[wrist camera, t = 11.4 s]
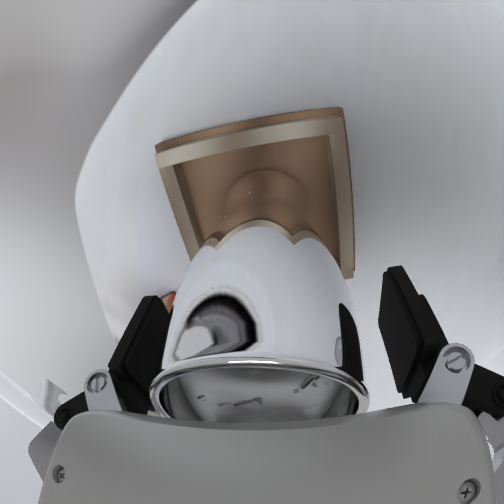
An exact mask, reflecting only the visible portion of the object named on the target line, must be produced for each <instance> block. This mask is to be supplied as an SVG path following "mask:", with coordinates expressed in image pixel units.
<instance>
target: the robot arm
mask: <svg viewBox="0 0 504 504" xmlns="http://www.w3.org/2000/svg"><path fill="white" fill-rule="evenodd" d="M168 316H169V312H168V310H167V309H166V307H165V305H164V303H163V301H162V299H160V298H158V296H155V295H154V296H145V297H143V299H142V300H141V302H140V304H139V306H138V308H137V309H136V311H135V313H134V315H133V317H132V319H131V321H130V323H129V324H128V326H127V328H126V330H125V332H124V334H123V336H122V338H121V340H120V342H119V344H118V346H117V348H116V350H115V352H114V354H113V356H112V358H111V360H110V362H109V364H108V367H109V368H110V369H109V371H106V370H103V369H101V370H96V371H94V372H93V373H91V374H90V375H89V376H88V377H87V379H86V381H85V384H84V392H82V393H80V394H79V395H77V396H75V397H74V398H72V399H70V400H69V401H67V402H66V403H64V404H62V405H61V406H60V407H58V409H57V410H56V412H55V415H54V422H52V421H51V422H50V423H49V424H48V425H47V426H46V427H45V428H44V429H43V430H42V431H41V432H40V433H39V434H38V435H37V436H36V437H35V438H34V439H33V440H32V441H31V443H30V445H29V450H28V452H29V455H30V457H31V459H32V461H33V463H34V465H35V467H36V469H37V471H38V473H39V475H40V477H41V478H42V480H43V486H42V490H41V493H40V498H39V502H38V504H504V377H503V376H501V375H499V374H497V373H495V372H492V371H490V370H488V369H486V368H483V367H481V366H479V365H477V364H474V362H475V360H474V355H473V353H472V352H471V350H470V349H469V348H468V347H467V346H465V345H463V344H459V343H451V344H449V343H448V341H447V339H446V337H445V335H444V333H443V331H442V329H441V327H440V325H439V323H438V321H437V319H436V317H435V315H434V313H433V311H432V309H431V307H430V305H429V303H428V301H427V300H426V298H425V296H424V295H422V294H421V295H418V293H417V291H416V289H415V287H414V286H413V284H412V282H411V280H410V278H409V277H408V275H407V273H406V271H405V270H404V268H403V267H402V266H401V265H400V266H394V267H389V268H388V269H387V271H386V272H384V273H383V282H382V292H381V301H380V310H379V317H378V324H379V329H380V332H381V335H382V338H383V341H384V345H385V348H386V351H387V355H388V358H389V362H390V365H391V369H392V373H393V376H394V380H395V384H396V388H397V391H398V393H401V392H402V395H403V399H405V398H409V397H411V400H412V402H413V403H414V404H409V405H404V406H398V407H393V408H388V409H383V410H377V411H372V412H366V413H360V414H354V415H347V416H340V417H332V418H324V419H315V420H303V421H289V422H265V423H233V422H209V421H195V420H184V419H174V418H166V417H158V416H151V415H148V414H147V413H148V410H149V411H153V412H156V411H155V409H154V408H153V406H152V405H151V402H150V400H149V395H148V390H149V386H150V384H151V382H152V379H153V375H154V371H155V367H156V363H157V358H158V354H159V349H160V345H161V341H162V337H163V333H164V330H165V326H166V322H167V319H168ZM485 435H486V436H487V437H488V438H489V439H488V440H486V437H485ZM487 441H488V442H489V443H490V444H491V445H492V447H493V448H494V458H493V461H492V459H491V454H490V450H489V446H488V443H487Z"/></svg>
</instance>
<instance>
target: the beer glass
mask: <svg viewBox="0 0 504 504" xmlns="http://www.w3.org/2000/svg"><path fill="white" fill-rule="evenodd" d="M309 217H310V205H309V200H308V197H307V194H306V192H305V191H304V189H303V187H302V186H301V185H300V184H299V183H298V182H297V181H296V180H295V179H294V178H292V177H291V176H289V175H287V174H285V173H283V172H280V171H276V170H257V171H253V172H250V173H248V174H246V175H244V176H242V177H241V178H240V179H238V180H237V181H236V182H235V183H234V184H233V185H232V187H231V188H230V189H229V191H228V193H227V195H226V199H225V204H224V220H223V221H222V222H221V223H220V224H219V225H218V227H217V228H216V229H215V230H214V231H213V232H212V234H211V235H210V236H209V237H208V238H207V240H206V241H205V242H204V243H203V245H202V246H201V248H200V249H199V251H198V252H197V254H196V255H195V257H194V258H193V260H192V261H191V263H190V265H189V267H188V269H187V271H186V273H185V275H184V277H183V279H182V281H181V283H180V285H179V288H178V290H177V293H176V295H175V298H174V301H173V304H172V307H171V310H170V313H169V316H168V319H167V322H166V326H165V330H164V333H163V337H162V341H161V345H160V349H159V354H158V358H157V363H156V367H155V371H154V375H153V379H152V382H151V384H150V386H149V390H148V395H149V400H150V402H151V405H152V406H153V408H154V409H155V411H156V412H157V413H158V414H159V415H160V416H161V417H166V418H174V419H184V420H195V421H209V422H233V423H265V422H289V421H303V420H315V419H324V418H332V417H340V416H347V415H354V414H360V413H366V411H367V409H368V407H369V403H370V396H369V392H368V389H367V384H366V376H365V369H364V361H363V353H362V346H361V340H360V334H359V329H358V324H357V319H356V316H355V312H354V308H353V304H352V300H351V297H350V293H349V291H348V288H347V285H346V283H345V280H344V278H343V275H342V272H341V270H340V268H339V266H338V264H337V262H336V261H335V259H334V257H333V255H332V254H331V252H330V250H329V249H328V247H327V245H326V244H325V243H324V241H323V240H322V238H321V237H320V236H319V234H318V233H317V232H316V230H315V229H314V228H313V226H312V225H311V224H310V222H309Z"/></svg>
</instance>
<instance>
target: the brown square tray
mask: <svg viewBox="0 0 504 504" xmlns="http://www.w3.org/2000/svg"><path fill="white" fill-rule="evenodd" d="M155 149H156V152H157V154H155V158H156V161H157V164H158V167H159V170H160V174H161V177H162V180H163V183H164V186H165V189H166V192H167V195H168V198H169V201H170V204H171V207H172V210H173V213H174V216H175V219H176V222H177V224H178V227H179V230H180V233H181V236H182V238H183V241H184V244H185V247H186V249H187V252H188V255H189V257H190V260H191V261H192V260H193V258H194V257H195V255H196V254H197V252H198V251H199V249H200V248H201V246H202V245H203V243H204V242H205V241H206V240H207V238H208V237H209V236H210V235H211V234H212V232H213V231H214V230H215V229H216V228H217V227H218V225H219V224H220V223H221V222H222V221H223V220H224V204H225V199H226V195H227V193H228V191H229V189H230V188H231V187H232V185H233V184H234V183H235V182H236V181H237V180H238V179H240V178H241V177H242V176H244V175H246V174H248V173H250V172H253V171H257V170H276V171H280V172H283V173H285V174H287V175H289V176H291V177H292V178H294V179H295V180H296V181H297V182H298V183H299V184H300V185H301V186H302V187H303V189H304V191H305V192H306V194H307V197H308V200H309V205H310V217H309V222H310V224H311V225H312V226H313V228H314V229H315V230H316V232H317V233H318V234H319V236H320V237H321V238H322V240H323V241H324V243H325V244H326V245H327V247H328V249H329V250H330V252H331V254H332V255H333V257H334V259H335V261H336V262H337V264H338V266H339V268H340V270H341V272H342V275H343V278H344V279H349V278H353V271H355V238H354V212H353V195H352V181H351V170H350V159H349V150H348V142H347V134H346V126H345V119H344V113H343V108H340V107H333V108H323V109H314V110H305V111H298V112H291V113H284V114H278V115H272V116H266V117H260V118H255V119H250V120H245V121H240V122H235V123H231V124H226V125H222V126H218V127H214V128H210V129H206V130H202V131H198V132H194V133H191V134H187V135H184V136H180V137H177V138H173V139H170V140H167V141H163V142H161V143H159V144H157V145H155Z"/></svg>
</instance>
